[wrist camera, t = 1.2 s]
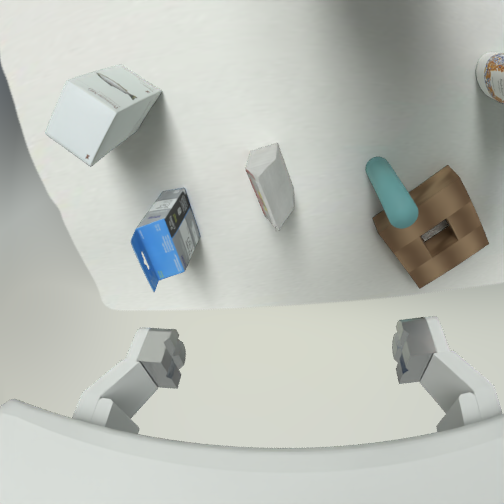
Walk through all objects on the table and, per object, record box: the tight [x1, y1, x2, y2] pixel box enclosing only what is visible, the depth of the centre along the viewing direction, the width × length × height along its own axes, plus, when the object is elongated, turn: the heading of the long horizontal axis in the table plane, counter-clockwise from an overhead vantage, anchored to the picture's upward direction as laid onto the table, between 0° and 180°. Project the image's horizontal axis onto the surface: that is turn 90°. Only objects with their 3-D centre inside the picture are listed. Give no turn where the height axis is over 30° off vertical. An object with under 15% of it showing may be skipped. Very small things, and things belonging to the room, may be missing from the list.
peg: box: [366, 157, 418, 229], centre depth 35 cm, size 3×3×12 cm
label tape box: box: [131, 188, 200, 292], centre depth 43 cm, size 9×4×12 cm, turn 10°
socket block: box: [373, 165, 489, 289], centre depth 42 cm, size 14×14×4 cm
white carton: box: [245, 143, 294, 231], centre depth 38 cm, size 4×7×10 cm, turn 21°
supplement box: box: [45, 64, 162, 167], centre depth 32 cm, size 7×7×13 cm
